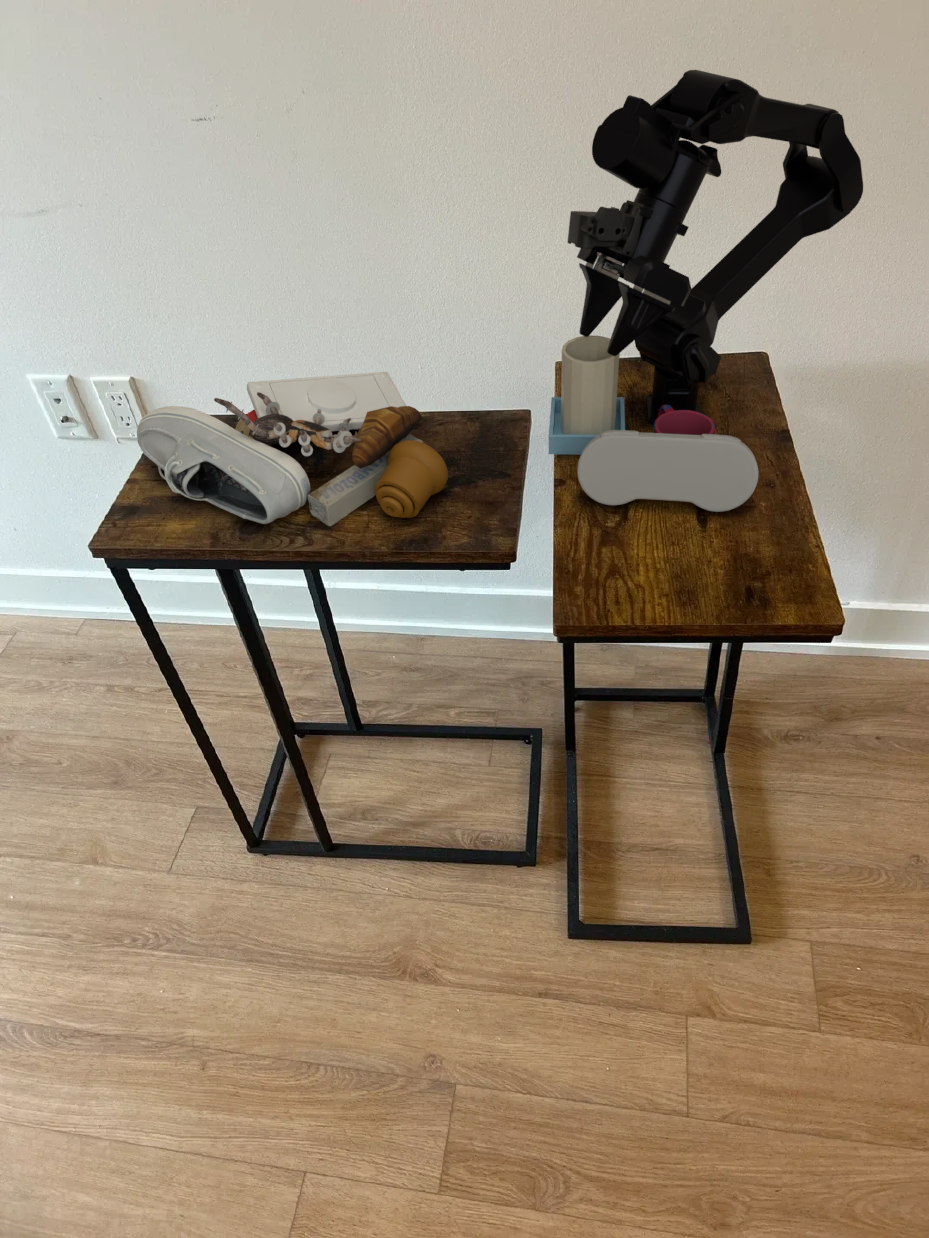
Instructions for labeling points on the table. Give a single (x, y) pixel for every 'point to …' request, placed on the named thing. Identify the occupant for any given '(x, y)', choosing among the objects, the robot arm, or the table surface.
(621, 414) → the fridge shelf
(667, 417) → the cup
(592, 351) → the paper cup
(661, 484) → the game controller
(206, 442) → the boat shoe
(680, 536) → the table surface
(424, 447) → the ornamental finial
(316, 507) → the grey printed bar
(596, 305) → the robot arm
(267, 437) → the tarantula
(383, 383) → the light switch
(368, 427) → the croissant
